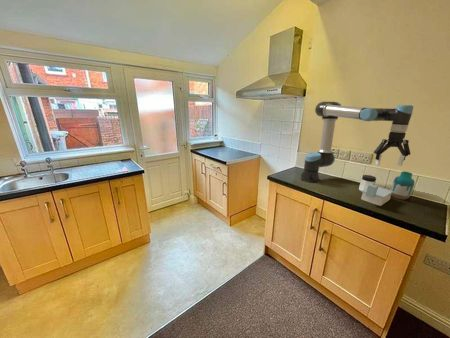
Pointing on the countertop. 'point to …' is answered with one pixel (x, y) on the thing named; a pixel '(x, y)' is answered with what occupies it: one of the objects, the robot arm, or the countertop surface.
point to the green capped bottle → (403, 186)
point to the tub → (376, 199)
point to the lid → (376, 191)
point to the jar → (367, 181)
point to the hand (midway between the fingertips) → (388, 165)
